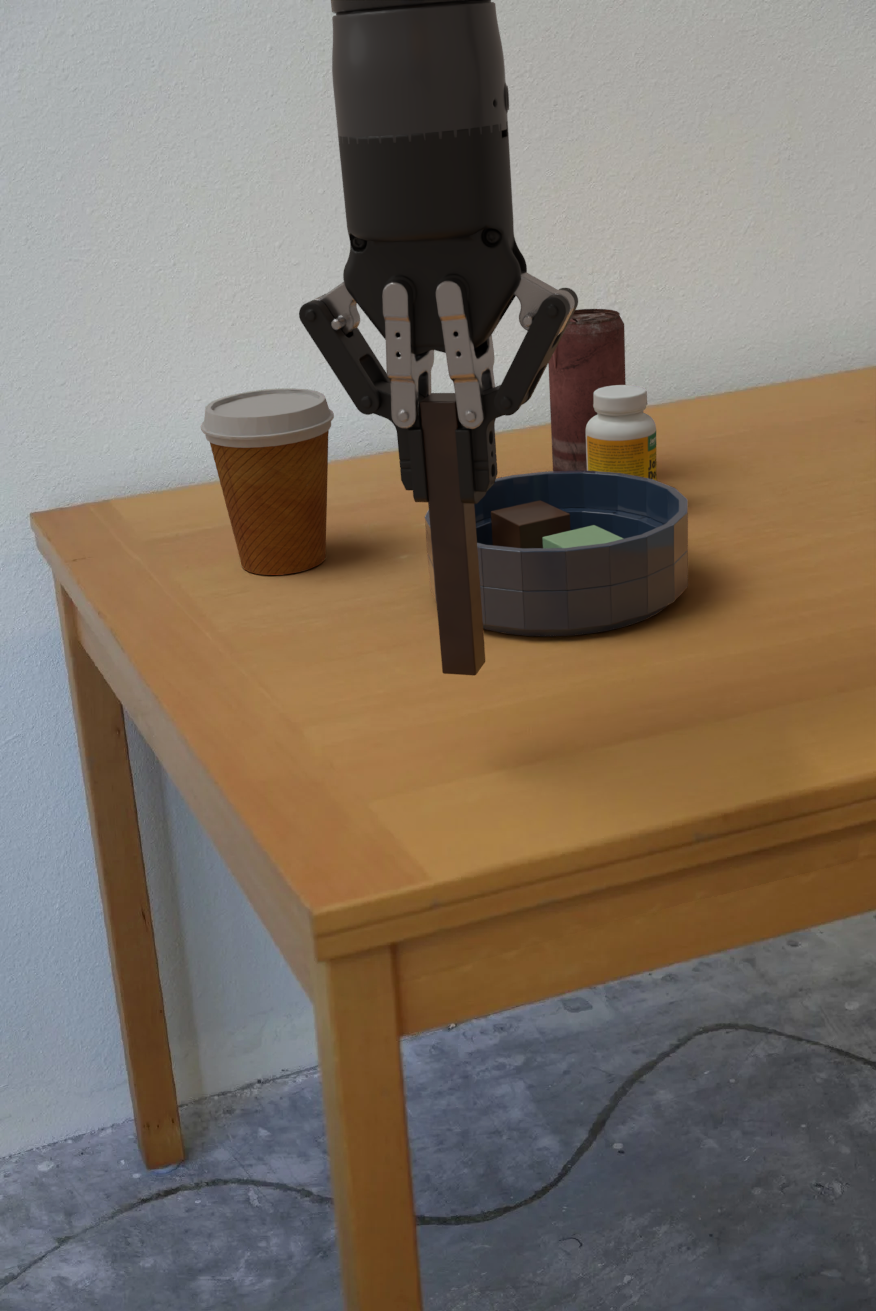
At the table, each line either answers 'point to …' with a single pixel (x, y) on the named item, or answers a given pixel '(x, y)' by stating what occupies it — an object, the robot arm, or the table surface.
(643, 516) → the bowl
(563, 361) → the can
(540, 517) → the walnut block
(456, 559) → the stick
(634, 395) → the supplement bottle
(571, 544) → the green block
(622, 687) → the table surface
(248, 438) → the disposable coffee cup
